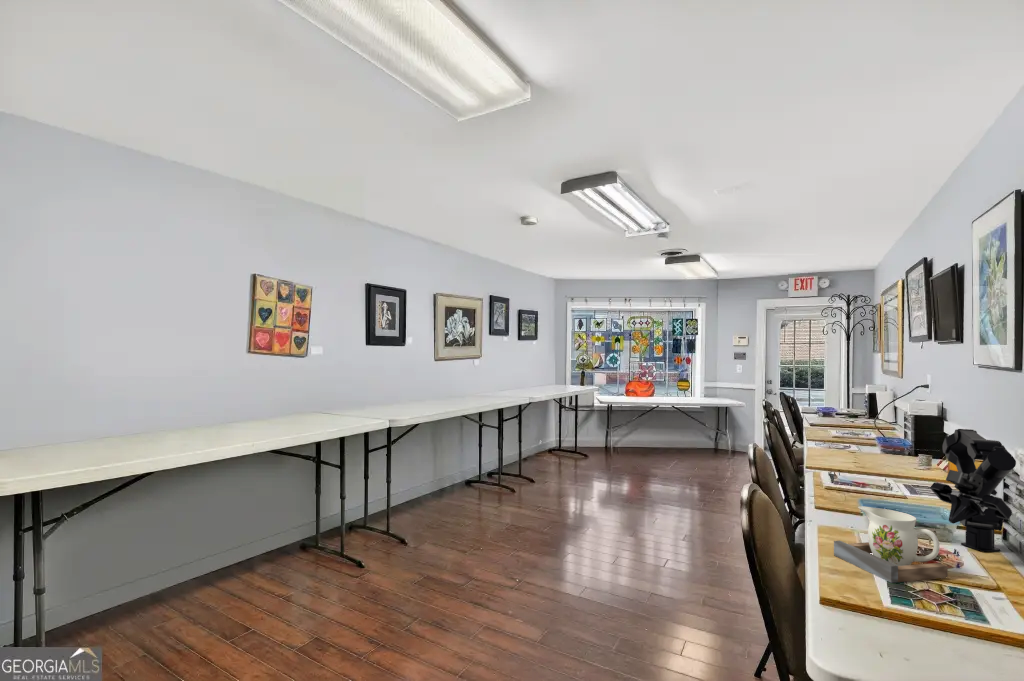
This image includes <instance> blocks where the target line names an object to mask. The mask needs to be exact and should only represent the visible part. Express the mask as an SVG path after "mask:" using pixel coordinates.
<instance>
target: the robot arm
mask: <svg viewBox="0 0 1024 681" xmlns="http://www.w3.org/2000/svg"><path fill="white" fill-rule="evenodd" d="M942 453H943V454H945V457H946V459H947V461H949V462H950V464H951V463H952V464H953V465H954V466H956V469H957V470H953V469H949V470H948V471H947V472H948V473H947V476H946V478H945V482H949V483H951V484H953V485H954V488H955V489H953V488H952V487H951V486H950V484H946V483H942V482H936V481H935V482H933V483H932V484H931V486H930V487H929V489H930V490H931V491H932V492H933V493H934V494H935V495H936V496H937V498H938V499H939V500H940V501H941V502H944V503H948V504H950V510H949V511H950V512H949V516H948V522H949V523H950V524H957V523H960V524H961V525H962V526H963V527H964V528H965V542H960V545H962V546H964V547H967V548H970V549H972V550H975V549H977V550H976V551H978V550H981V551H991V552H1000V551H1001V548H998V547H995V531H998V532H1002V530H1003V526H1004V525H1003V524H1004V520H1007V521H1008V520H1009V519H1010V518H1011V516H1013V511H1012V508H1010V507H1009V506H1008V504H1007V503H1006V502H1005V500H1004V499H1002V498H1001V497H998V496H996V495H997V494H998V492H997V490H996V489H997V488H998V486H999V485H1000V483H1001V482H1002V481H1003V480H1004V478H1005V477H1006V476H1008V475H1009V474H1010V473H1011V472H1012V471H1013V470H1014V469H1015V467H1017V466H1016V465H1017V460H1016V459H1015V457H1014V456H1013V455H1012V454H1011V453H1010V452H1009V451H1008V449H1007V448H1006V447H1005V445H1003V443H1002V442H1001V441H999V440H995V439H986V438H984V437H983V436H982V435H981V434H979V433H978V431H977V430H974V429H967V428H957V429H954V432H953V433H951V434H949V435H948V436H946V437H944V440H943V443H942ZM976 460H977V461H982V462H981V463H980V464H979V466H977V465H976V464H975V462H976ZM976 466H977V467H976ZM981 551H980V552H981Z"/></svg>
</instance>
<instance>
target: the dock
mask: <svg viewBox="0 0 1024 681" xmlns="http://www.w3.org/2000/svg"><path fill="white" fill-rule="evenodd" d="M870 553H872V551H871V548H870V545H869V541H868V542H854V543H847V542H845V541H842V540H833V556H835V557H836V558H839V559H840V560H843V561H845V562H847V563H849V564H851V565H853V566H855V567H857V568H860V569H861V570H864V571H866V572H868V573H869V574H872V575H874V576H876V577H878V578H880V579H883V580H885V581H887V582H889V583H904V582H915V581H917V582H918V581H928V579H929V580H937V579H936V578H941V579H947V578H946V577H948V578H949V576H948V570H949V569H948V568H949V565H946V564H944V563H941V562H936V563H935V562H934V563H924V564H923V563H922V564H920V563H919V564H910V565H906V566H897V565H895V564H893V563H890V562H888V561H886V560H883V559H881V558H879V557H877V556H874V555H872V554H870Z"/></svg>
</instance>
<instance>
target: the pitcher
mask: <svg viewBox="0 0 1024 681" xmlns="http://www.w3.org/2000/svg"><path fill="white" fill-rule="evenodd" d="M857 508H858V509H859V510H860V511H862V512H863V513H865V515H866V517H867V518H868V521H869V524H868V529H867V538H868V539H867V540H868V542H869V545H870V548H871V551H872V553H873V555H874V556H877V557H879V558H881V559H883V560H886V561H888V562H890V563H893V564H895V565H897V566H906V565H912V563H917V562H918V563H925V562H929V561H932V560H934V559H935V558H936V557H937V556H938V554H939V552H940V549H941V548H940V541H939V539H938V538H939V537H938V536H937V535H936V534H935V533H934V532H933V531H932V530H930V529H926V528H920V529H917V528H915V526H916V522H917V518H916V516H913V515H911V514H909V513H906V512H901V511H897V510H892V509H888V508H887V509H886V508H881V507H880V508H879V507H872V506H871V507H870V506H864V505H863V506H862V505H858V506H857ZM919 535H926V536H928V537H930V538H931V540H932V542H933V550H932V551H931V552H930V553H929V554H926V555H921V556H920V555H917V552H918V550H919V549H918V547H919V538H918V536H919Z"/></svg>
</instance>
